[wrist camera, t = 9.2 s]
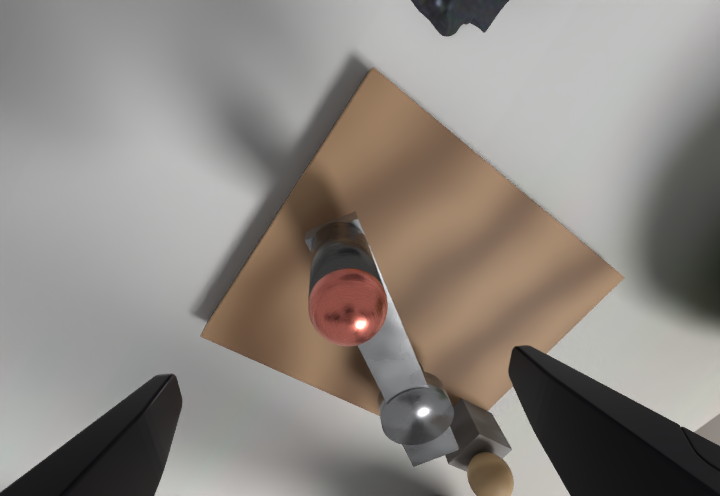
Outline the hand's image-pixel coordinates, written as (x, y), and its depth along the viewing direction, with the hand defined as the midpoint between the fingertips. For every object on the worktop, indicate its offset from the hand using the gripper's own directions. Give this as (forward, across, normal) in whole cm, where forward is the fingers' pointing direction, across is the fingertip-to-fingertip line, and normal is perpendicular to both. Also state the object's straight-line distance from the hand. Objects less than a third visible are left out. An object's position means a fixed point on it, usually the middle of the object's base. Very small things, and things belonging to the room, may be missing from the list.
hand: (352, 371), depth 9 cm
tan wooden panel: (+12, -6, +5) cm, 15 cm away
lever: (+10, -3, +6) cm, 12 cm away
